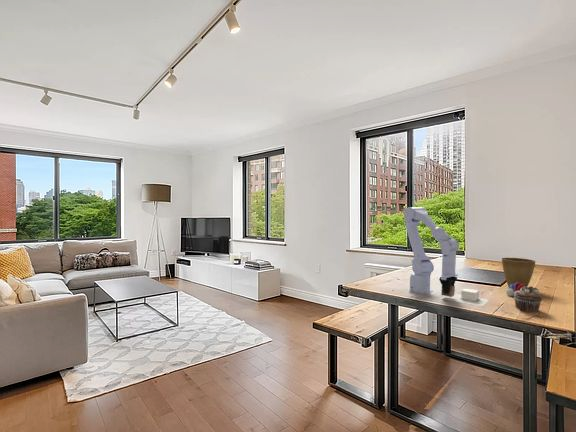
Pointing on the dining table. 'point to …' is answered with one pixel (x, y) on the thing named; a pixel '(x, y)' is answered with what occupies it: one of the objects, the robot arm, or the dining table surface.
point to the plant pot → (518, 270)
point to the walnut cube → (451, 292)
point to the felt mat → (458, 299)
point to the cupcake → (528, 299)
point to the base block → (470, 294)
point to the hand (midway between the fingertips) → (447, 292)
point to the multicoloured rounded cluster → (514, 289)
